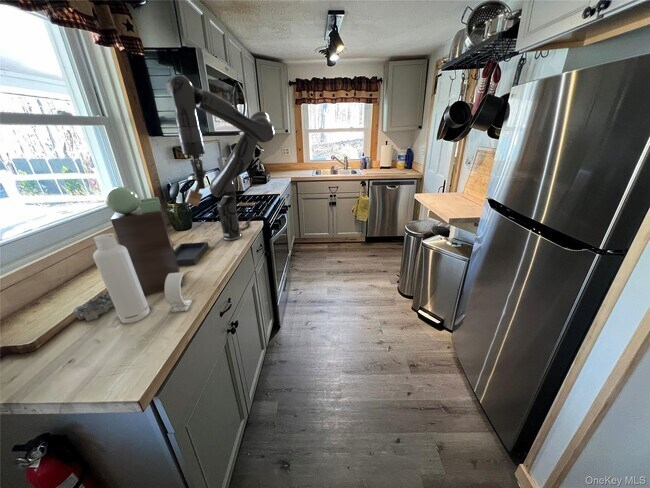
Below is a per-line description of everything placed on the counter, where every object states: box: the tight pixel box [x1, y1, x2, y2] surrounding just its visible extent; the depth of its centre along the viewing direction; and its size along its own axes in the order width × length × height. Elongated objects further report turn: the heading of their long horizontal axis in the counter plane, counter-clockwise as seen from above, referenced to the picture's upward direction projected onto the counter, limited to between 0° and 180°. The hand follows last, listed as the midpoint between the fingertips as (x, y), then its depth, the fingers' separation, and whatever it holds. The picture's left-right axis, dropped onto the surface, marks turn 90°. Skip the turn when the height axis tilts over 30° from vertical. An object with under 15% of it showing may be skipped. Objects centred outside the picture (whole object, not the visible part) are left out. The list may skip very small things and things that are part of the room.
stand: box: [110, 206, 183, 297], centre depth 96 cm, size 10×14×30 cm
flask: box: [104, 186, 162, 214], centre depth 88 cm, size 9×14×9 cm, turn 120°
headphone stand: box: [164, 271, 193, 313], centre depth 86 cm, size 5×6×12 cm
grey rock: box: [72, 292, 115, 322], centre depth 87 cm, size 11×8×4 cm
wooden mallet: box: [184, 169, 208, 207], centre depth 100 cm, size 5×14×5 cm
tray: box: [173, 241, 210, 267], centre depth 125 cm, size 20×14×3 cm
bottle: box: [92, 232, 151, 324], centre depth 80 cm, size 8×8×28 cm
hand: (201, 188), depth 101 cm, fingers closed on wooden mallet
